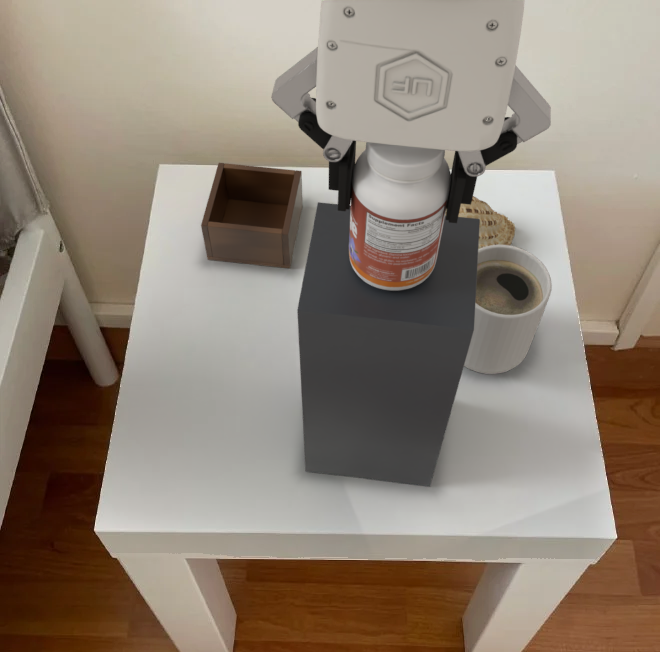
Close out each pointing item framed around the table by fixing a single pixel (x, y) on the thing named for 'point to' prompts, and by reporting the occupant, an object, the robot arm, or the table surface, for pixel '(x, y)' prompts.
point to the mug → (506, 307)
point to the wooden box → (253, 215)
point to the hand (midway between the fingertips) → (399, 199)
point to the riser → (382, 355)
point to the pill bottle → (397, 214)
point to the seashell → (489, 223)
